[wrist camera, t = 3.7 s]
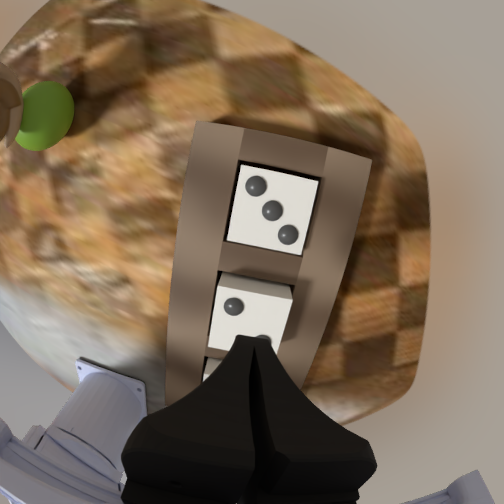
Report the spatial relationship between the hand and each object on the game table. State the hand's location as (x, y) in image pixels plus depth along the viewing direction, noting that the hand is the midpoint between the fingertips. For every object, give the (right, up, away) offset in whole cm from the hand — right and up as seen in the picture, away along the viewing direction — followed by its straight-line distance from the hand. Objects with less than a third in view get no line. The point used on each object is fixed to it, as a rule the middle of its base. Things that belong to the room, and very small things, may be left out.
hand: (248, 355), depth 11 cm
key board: (0, +1, +9) cm, 9 cm away
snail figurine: (-15, +16, +6) cm, 23 cm away
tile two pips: (0, +1, +8) cm, 8 cm away
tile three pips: (+1, +7, +7) cm, 10 cm away
